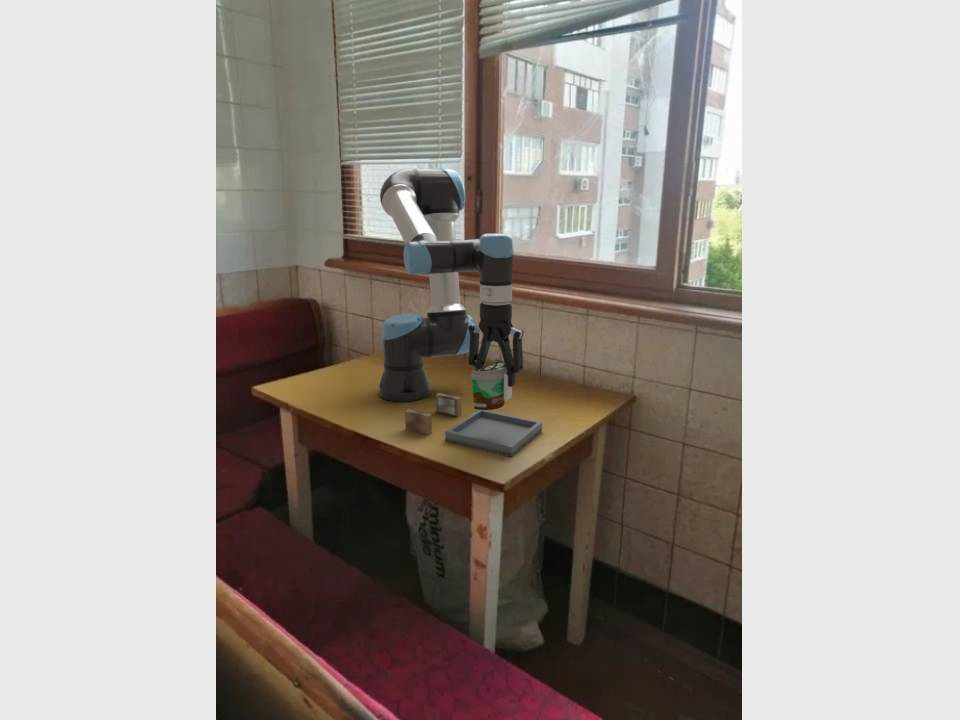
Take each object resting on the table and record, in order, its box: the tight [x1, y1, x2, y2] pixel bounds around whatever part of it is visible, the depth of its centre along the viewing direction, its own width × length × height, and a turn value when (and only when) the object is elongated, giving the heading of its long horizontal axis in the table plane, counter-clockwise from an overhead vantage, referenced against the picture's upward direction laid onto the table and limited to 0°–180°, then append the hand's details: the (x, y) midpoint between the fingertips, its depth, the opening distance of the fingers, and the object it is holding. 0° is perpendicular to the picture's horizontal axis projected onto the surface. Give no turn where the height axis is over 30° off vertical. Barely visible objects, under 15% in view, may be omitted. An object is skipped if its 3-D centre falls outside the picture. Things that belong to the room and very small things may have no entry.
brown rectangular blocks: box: [404, 392, 462, 436], centre depth 153 cm, size 7×16×5 cm, turn 150°
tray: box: [444, 410, 543, 458], centre depth 145 cm, size 18×17×2 cm
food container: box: [470, 358, 507, 411], centre depth 142 cm, size 12×6×10 cm, turn 148°
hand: (495, 396), depth 142 cm, fingers closed on food container, 6 cm apart
